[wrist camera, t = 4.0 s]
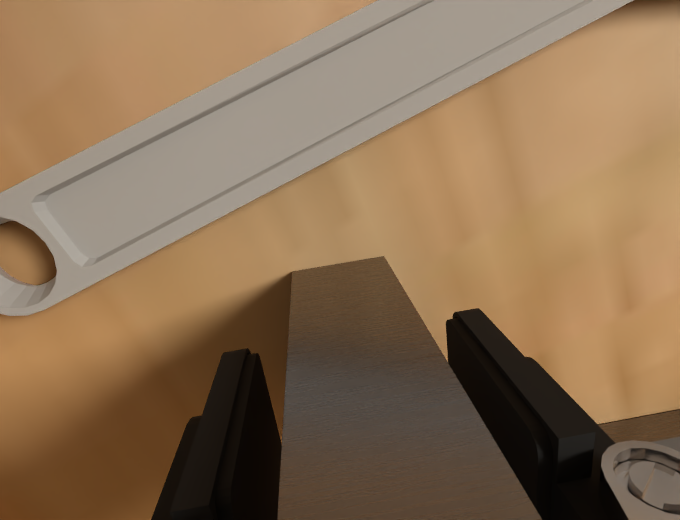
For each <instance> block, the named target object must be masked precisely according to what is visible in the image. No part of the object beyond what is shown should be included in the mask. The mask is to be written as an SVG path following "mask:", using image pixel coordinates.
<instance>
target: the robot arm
mask: <svg viewBox="0 0 680 520" xmlns="http://www.w3.org/2000/svg"><path fill="white" fill-rule="evenodd" d="M446 333H447V350H448V364H449V365H450V367H451V369H452V370H453V372H454V374H455V375H456V377H457V379H458V380H459V382H460V384H461V385H462V387H463V389H464V390H465V392H466V394H467V395H468V397H469V399H470V400H471V402H472V404H473V405H474V407H475V409H476V410H477V412H478V414H479V415H480V417H481V419H482V420H483V422H484V424H485V425H486V427H487V429H488V430H489V432H490V434H491V435H492V437H493V439H494V440H495V442H496V444H497V445H498V447H499V449H500V450H501V452H502V454H503V455H504V457H505V459H506V460H507V462H508V464H509V465H510V467H511V469H512V470H513V472H514V474H515V475H516V477H517V479H518V480H519V482H520V484H521V485H522V487H523V489H524V490H525V492H526V494H527V495H528V497H529V499H530V500H531V502H532V504H533V505H534V507H535V509H536V510H537V512H538V514H539V515H540V517H541V519H542V520H680V452H678V451H676V450H674V449H672V448H669V447H667V446H663V445H659V444H656V443H652V442H647V441H636V440H631V441H623V442H618V443H615V442H614V441H613V440H612V439H611V438H610V437H609V436H608V435H607V434H606V433H605V432H604V431H603V430H602V429H601V428H600V427H599V426H598V425H597V424H596V423H595V422H594V421H593V419H592V418H591V417H590V416H589V415H588V414H587V413H586V412H585V411H584V410H583V409H582V408H581V407H580V406H579V405H578V404H577V403H576V402H575V401H574V400H573V399H572V398H571V397H570V396H569V395H568V394H567V393H566V392H565V391H564V390H563V389H562V388H561V386H560V385H559V384H558V383H557V382H556V381H555V380H554V379H553V378H552V377H551V376H550V375H549V374H548V373H547V372H546V371H545V370H544V369H543V368H542V367H541V366H540V365H539V364H538V363H537V362H536V361H535V360H534V359H532V358H530V357H524V356H523V354H522V353H521V352H520V351H519V350H518V349H517V348H516V347H515V346H514V345H513V344H512V343H511V342H510V341H509V340H508V339H507V337H506V336H505V335H504V334H503V333H502V332H501V331H500V330H499V329H498V328H497V327H496V326H495V325H494V324H493V323H492V321H491V320H490V319H489V318H488V317H487V316H486V315H485V314H484V313H483V312H482V311H481V310H480V309H479V308H477V309H471V310H465V311H459V312H455V313H454V314H453V319H449V320H447V321H446ZM281 451H282V445H281V440H280V436H279V432H278V428H277V424H276V420H275V416H274V412H273V408H272V404H271V400H270V396H269V392H268V388H267V384H266V380H265V376H264V372H263V368H262V364H261V360H260V356H259V354H258V353H255V354H251V353H250V351H249V349H248V348H247V349H242V350H236V351H230V352H225V353H223V355H222V357H221V360H220V363H219V366H218V369H217V372H216V375H215V378H214V381H213V384H212V387H211V390H210V393H209V396H208V399H207V402H206V405H205V408H204V411H203V414H202V416H196V417H192V418H191V419H190V420H189V422H188V423H187V425H186V428H185V431H184V433H183V436H182V439H181V441H180V444H179V447H178V449H177V452H176V455H175V457H174V460H173V463H172V466H171V468H170V471H169V474H168V476H167V479H166V482H165V484H164V487H163V490H162V492H161V495H160V498H159V500H158V503H157V506H156V508H155V511H154V514H153V516H152V519H151V520H277V518H278V501H279V485H280V468H281Z"/></svg>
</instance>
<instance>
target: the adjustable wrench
mask: <svg viewBox="0 0 680 520" xmlns="http://www.w3.org/2000/svg"><path fill="white" fill-rule="evenodd" d="M631 1H633V0H378V1H376V2H374V3H372V4H370V5H368V6H366V7H364V8H362V9H360V10H358V11H356V12H354V13H352V14H350V15H348V16H346V17H344V18H342V19H340V20H338V21H336V22H334V23H332V24H330V25H329V26H327V27H325V28H323V29H321V30H319V31H317V32H315V33H313V34H311V35H309V36H307V37H305V38H303V39H301V40H299V41H297V42H295V43H293V44H291V45H289V46H287V47H285V48H283V49H281V50H280V51H278V52H276V53H274V54H272V55H270V56H268V57H266V58H264V59H262V60H260V61H258V62H256V63H254V64H252V65H250V66H248V67H246V68H244V69H242V70H240V71H238V72H236V73H234V74H232V75H230V76H229V77H227V78H225V79H223V80H221V81H219V82H217V83H215V84H213V85H211V86H209V87H207V88H205V89H203V90H201V91H199V92H197V93H195V94H193V95H191V96H189V97H187V98H185V99H183V100H181V101H180V102H178V103H176V104H174V105H172V106H170V107H168V108H166V109H164V110H162V111H160V112H158V113H156V114H154V115H152V116H150V117H148V118H146V119H144V120H142V121H140V122H138V123H136V124H134V125H132V126H131V127H129V128H127V129H125V130H123V131H121V132H119V133H117V134H115V135H113V136H111V137H109V138H107V139H105V140H103V141H101V142H99V143H97V144H95V145H93V146H91V147H89V148H87V149H85V150H83V151H81V152H80V153H78V154H76V155H74V156H72V157H70V158H68V159H66V160H64V161H62V162H60V163H58V164H56V165H54V166H52V167H50V168H48V169H46V170H44V171H42V172H40V173H38V174H36V175H34V176H32V177H31V178H29V179H27V180H25V181H23V182H21V183H19V184H17V185H15V186H13V187H11V188H9V189H7V190H5V191H3V192H1V193H0V224H2V223H5V222H8V221H17V222H19V223H20V224H22V225H24V226H26V227H28V228H29V229H31V230H33V231H34V232H35V233H36V234H37V235H38V236H39V237H40V238H41V239H42V240H43V241H44V242H45V243H46V245H47V246H48V248H49V250H50V251H51V253H52V255H53V256H54V260H55V265H56V269H57V274H56V276H55V277H54V278H53V279H51V280H50V281H49V282H47V283H44V284H41V285H32V284H27V283H23V282H21V281H19V280H17V279H15V278H13V277H11V276H10V275H9V274H8V273H7V272H5V271H4V270H3V269H2V268H1V267H0V314H4V315H8V316H22V315H30V314H33V313H36V312H40V311H43V310H45V309H47V308H49V307H51V306H53V305H55V304H56V303H58V302H60V301H62V300H64V299H66V298H68V297H70V296H72V295H74V294H75V293H77V292H79V291H81V290H83V289H85V288H87V287H89V286H91V285H93V284H94V283H96V282H98V281H100V280H102V279H104V278H106V277H108V276H110V275H112V274H114V273H115V272H117V271H119V270H121V269H123V268H125V267H127V266H129V265H131V264H133V263H134V262H136V261H138V260H140V259H142V258H144V257H146V256H148V255H150V254H152V253H153V252H155V251H157V250H159V249H161V248H163V247H165V246H167V245H169V244H171V243H173V242H174V241H176V240H178V239H180V238H182V237H184V236H186V235H188V234H190V233H192V232H193V231H195V230H197V229H199V228H201V227H203V226H205V225H207V224H209V223H211V222H212V221H214V220H216V219H218V218H220V217H222V216H224V215H226V214H228V213H230V212H232V211H233V210H235V209H237V208H239V207H241V206H243V205H245V204H247V203H249V202H251V201H252V200H254V199H256V198H258V197H260V196H262V195H264V194H266V193H268V192H270V191H271V190H273V189H275V188H277V187H279V186H281V185H283V184H285V183H287V182H289V181H291V180H292V179H294V178H296V177H298V176H300V175H302V174H304V173H306V172H308V171H310V170H311V169H313V168H315V167H317V166H319V165H321V164H323V163H325V162H327V161H329V160H330V159H332V158H334V157H336V156H338V155H340V154H342V153H344V152H346V151H348V150H350V149H351V148H353V147H355V146H357V145H359V144H361V143H363V142H365V141H367V140H369V139H370V138H372V137H374V136H376V135H378V134H380V133H382V132H384V131H386V130H388V129H390V128H391V127H393V126H395V125H397V124H399V123H401V122H403V121H405V120H407V119H409V118H410V117H412V116H414V115H416V114H418V113H420V112H422V111H424V110H426V109H428V108H429V107H431V106H433V105H435V104H437V103H439V102H441V101H443V100H445V99H447V98H449V97H450V96H452V95H454V94H456V93H458V92H460V91H462V90H464V89H466V88H468V87H469V86H471V85H473V84H475V83H477V82H479V81H481V80H483V79H485V78H487V77H488V76H490V75H492V74H494V73H496V72H498V71H500V70H502V69H504V68H506V67H508V66H509V65H511V64H513V63H515V62H517V61H519V60H521V59H523V58H525V57H527V56H528V55H530V54H532V53H534V52H536V51H538V50H540V49H542V48H544V47H546V46H547V45H549V44H551V43H553V42H555V41H557V40H559V39H561V38H563V37H565V36H567V35H568V34H570V33H572V32H574V31H576V30H578V29H580V28H582V27H584V26H586V25H587V24H589V23H591V22H593V21H595V20H597V19H599V18H601V17H603V16H605V15H606V14H608V13H610V12H612V11H614V10H616V9H618V8H620V7H622V6H624V5H626V4H627V3H629V2H631Z"/></svg>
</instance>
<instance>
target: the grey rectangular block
mask: <svg viewBox="0 0 680 520" xmlns="http://www.w3.org/2000/svg"><path fill="white" fill-rule="evenodd" d="M277 520H542V519H541V517H540V515H539V514H538V512H537V510H536V509H535V507H534V505H533V504H532V502H531V500H530V499H529V497H528V495H527V494H526V492H525V490H524V489H523V487H522V485H521V484H520V482H519V480H518V479H517V477H516V475H515V474H514V472H513V470H512V469H511V467H510V465H509V464H508V462H507V460H506V459H505V457H504V455H503V454H502V452H501V450H500V449H499V447H498V445H497V444H496V442H495V440H494V439H493V437H492V435H491V434H490V432H489V430H488V429H487V427H486V425H485V424H484V422H483V420H482V419H481V417H480V415H479V414H478V412H477V410H476V409H475V407H474V405H473V404H472V402H471V400H470V399H469V397H468V395H467V394H466V392H465V390H464V389H463V387H462V385H461V384H460V382H459V380H458V379H457V377H456V375H455V374H454V372H453V370H452V369H451V367H450V365H449V364H448V362H447V360H446V359H445V357H444V355H443V354H442V352H441V350H440V349H439V347H438V345H437V344H436V342H435V340H434V339H433V337H432V335H431V334H430V332H429V330H428V329H427V327H426V325H425V324H424V322H423V320H422V319H421V317H420V315H419V314H418V312H417V310H416V309H415V307H414V305H413V304H412V302H411V300H410V299H409V297H408V295H407V294H406V292H405V290H404V289H403V287H402V285H401V284H400V282H399V280H398V279H397V277H396V275H395V274H394V272H393V270H392V269H391V267H390V265H389V264H388V262H387V260H386V259H385V257H384V256H383V257H377V258H371V259H365V260H359V261H353V262H347V263H341V264H335V265H329V266H323V267H317V268H311V269H305V270H299V271H293V272H292V283H291V300H290V317H289V334H288V351H287V367H286V384H285V401H284V418H283V434H282V451H281V468H280V485H279V501H278V518H277Z"/></svg>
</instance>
